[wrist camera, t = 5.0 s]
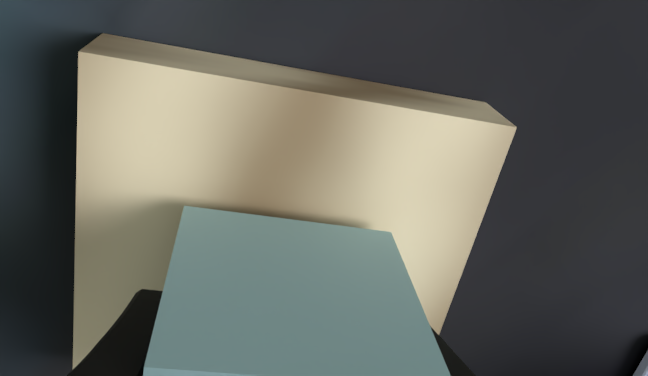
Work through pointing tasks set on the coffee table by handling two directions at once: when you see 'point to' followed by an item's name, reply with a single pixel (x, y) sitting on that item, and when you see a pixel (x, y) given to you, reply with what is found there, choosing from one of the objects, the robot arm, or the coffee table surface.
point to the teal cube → (287, 302)
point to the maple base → (266, 165)
